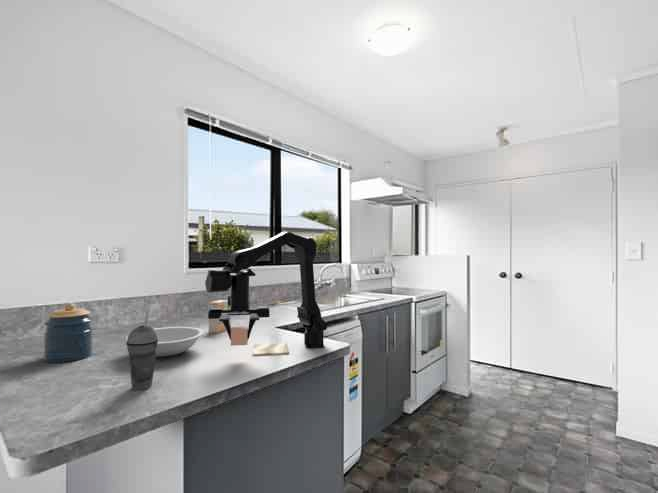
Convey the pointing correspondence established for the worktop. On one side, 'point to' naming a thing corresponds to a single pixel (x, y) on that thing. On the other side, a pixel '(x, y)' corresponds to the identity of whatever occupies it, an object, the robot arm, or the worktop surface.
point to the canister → (68, 335)
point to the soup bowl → (175, 339)
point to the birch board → (270, 349)
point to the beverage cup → (142, 355)
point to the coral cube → (239, 335)
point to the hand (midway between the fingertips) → (239, 339)
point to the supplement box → (215, 324)
